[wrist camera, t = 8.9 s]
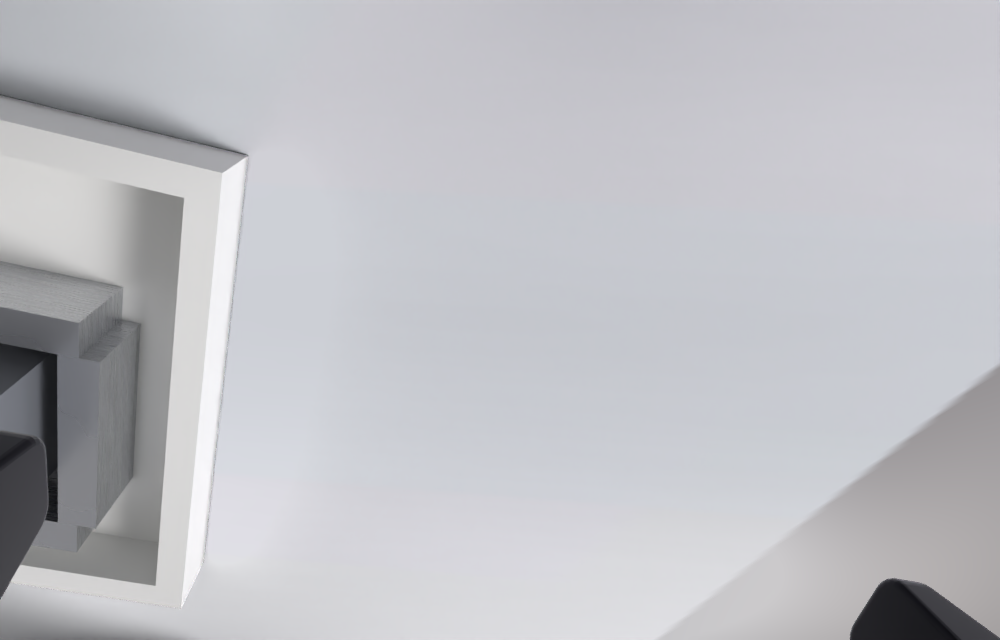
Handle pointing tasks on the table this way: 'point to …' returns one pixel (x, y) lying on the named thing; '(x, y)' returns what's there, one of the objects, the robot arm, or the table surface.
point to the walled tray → (147, 300)
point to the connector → (30, 396)
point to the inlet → (79, 390)
